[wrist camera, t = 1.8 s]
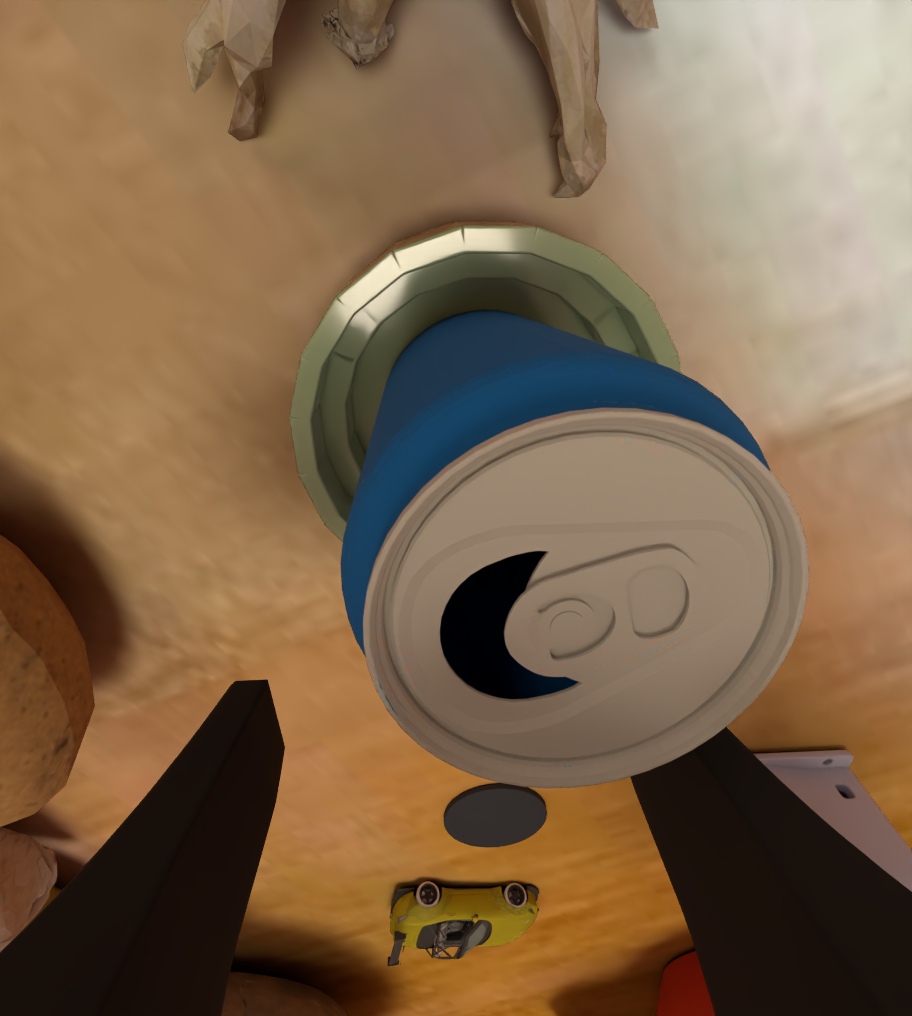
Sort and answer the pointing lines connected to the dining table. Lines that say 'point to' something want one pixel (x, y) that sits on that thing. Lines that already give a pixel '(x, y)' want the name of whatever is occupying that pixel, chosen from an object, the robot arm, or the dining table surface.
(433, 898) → the toy car
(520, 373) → the beverage can
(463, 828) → the coaster
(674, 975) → the decorative vase
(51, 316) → the dining table surface
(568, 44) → the branching beige root
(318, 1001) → the bowl
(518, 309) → the green bowl
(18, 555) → the potato
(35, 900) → the seashell
